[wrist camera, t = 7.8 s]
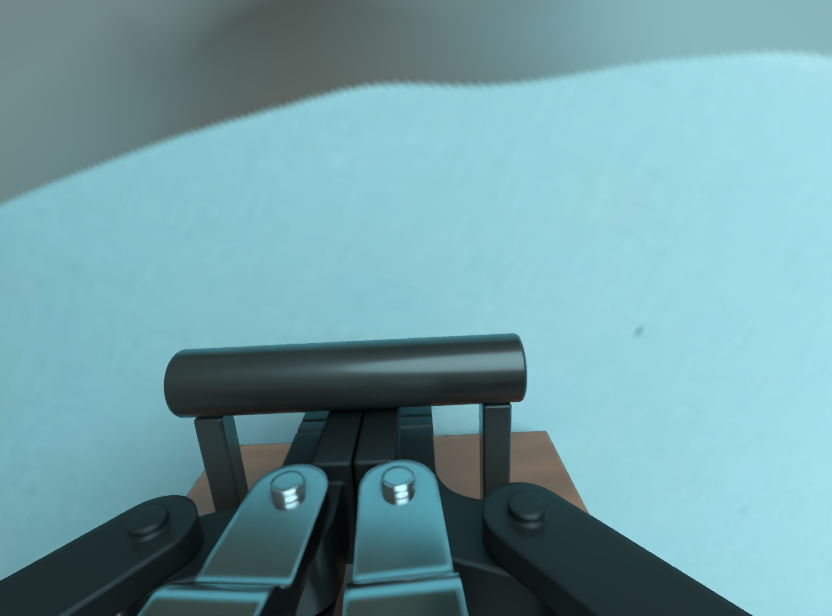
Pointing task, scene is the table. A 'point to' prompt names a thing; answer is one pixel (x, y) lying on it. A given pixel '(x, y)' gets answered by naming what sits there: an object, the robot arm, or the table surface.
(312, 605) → the robot arm
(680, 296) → the table surface
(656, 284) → the table surface
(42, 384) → the table surface
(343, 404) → the drawer
